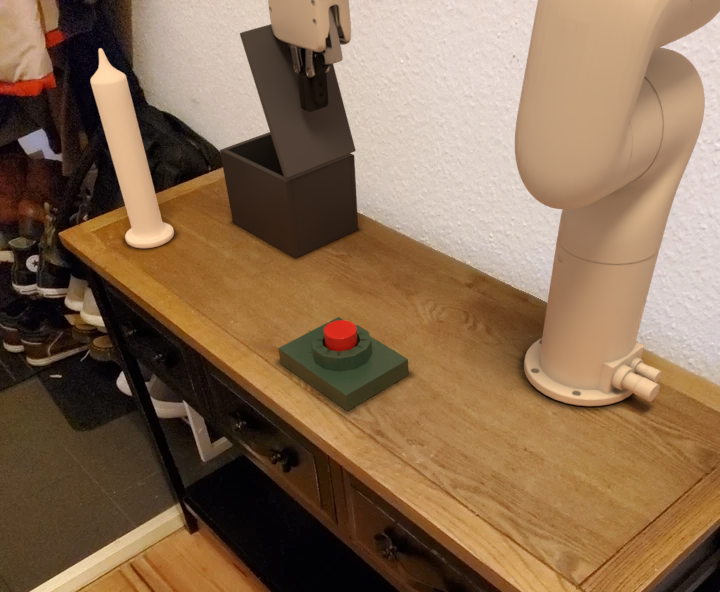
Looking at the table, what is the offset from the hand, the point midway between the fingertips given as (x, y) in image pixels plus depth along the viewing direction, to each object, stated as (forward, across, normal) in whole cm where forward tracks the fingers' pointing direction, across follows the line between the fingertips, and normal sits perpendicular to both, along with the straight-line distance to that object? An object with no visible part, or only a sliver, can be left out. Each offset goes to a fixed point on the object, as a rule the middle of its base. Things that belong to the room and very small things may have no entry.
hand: (314, 107), depth 92 cm
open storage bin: (+18, +8, 0) cm, 20 cm away
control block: (+18, -24, +18) cm, 35 cm away
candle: (+19, +20, +17) cm, 32 cm away
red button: (+15, -24, +17) cm, 33 cm away
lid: (-1, +3, 0) cm, 3 cm away
